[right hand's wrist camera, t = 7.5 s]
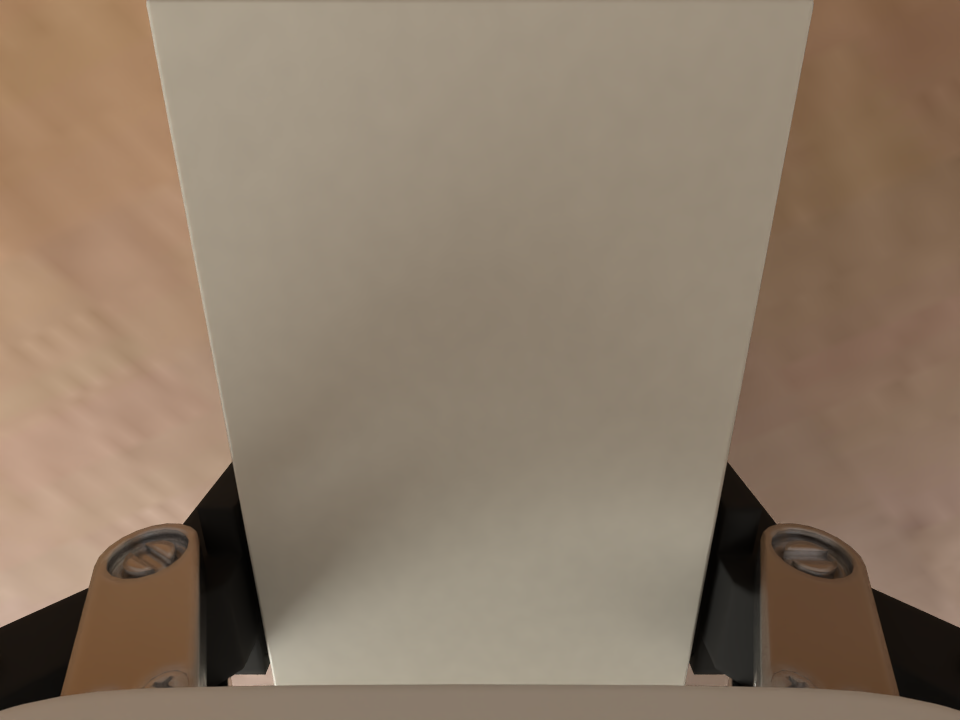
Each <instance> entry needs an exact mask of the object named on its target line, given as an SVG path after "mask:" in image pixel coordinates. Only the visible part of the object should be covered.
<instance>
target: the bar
mask: <svg viewBox="0 0 960 720" xmlns="http://www.w3.org/2000/svg"><path fill="white" fill-rule="evenodd" d="M146 5H147V10H148V15H149V21H150V26H151V31H152V37H153V42H154V47H155V53H156V58H157V63H158V69H159V74H160V79H161V85H162V90H163V95H164V101H165V106H166V111H167V117H168V122H169V127H170V132H171V138H172V143H173V148H174V154H175V159H176V164H177V170H178V175H179V180H180V186H181V191H182V196H183V202H184V207H185V212H186V218H187V223H188V228H189V234H190V239H191V244H192V249H193V255H194V260H195V265H196V271H197V276H198V281H199V287H200V292H201V297H202V303H203V308H204V313H205V319H206V324H207V329H208V335H209V340H210V345H211V351H212V356H213V361H214V366H215V372H216V377H217V382H218V388H219V393H220V398H221V404H222V409H223V414H224V420H225V425H226V430H227V436H228V441H229V446H230V452H231V457H232V462H233V468H234V473H235V478H236V483H237V489H238V494H239V499H240V505H241V510H242V515H243V521H244V526H245V531H246V537H247V542H248V547H249V553H250V558H251V563H252V569H253V574H254V579H255V585H256V590H257V595H258V600H259V606H260V611H261V616H262V622H263V627H264V632H265V638H266V643H267V648H268V654H269V659H270V664H271V670H272V675H273V680H274V686H277V685H417V684H543V685H683V686H685V682H686V676H687V671H688V666H689V661H690V655H691V650H692V645H693V639H694V634H695V629H696V624H697V618H698V613H699V608H700V602H701V597H702V592H703V587H704V581H705V576H706V571H707V566H708V560H709V555H710V550H711V544H712V539H713V534H714V529H715V523H716V518H717V513H718V507H719V502H720V497H721V492H722V486H723V481H724V476H725V470H726V465H727V460H728V455H729V449H730V444H731V439H732V433H733V428H734V423H735V418H736V412H737V407H738V402H739V396H740V391H741V386H742V381H743V375H744V370H745V365H746V359H747V354H748V349H749V344H750V338H751V333H752V328H753V322H754V317H755V312H756V307H757V301H758V296H759V291H760V285H761V280H762V275H763V270H764V264H765V259H766V254H767V248H768V243H769V238H770V233H771V227H772V222H773V217H774V211H775V206H776V201H777V196H778V190H779V185H780V180H781V174H782V169H783V164H784V159H785V153H786V148H787V143H788V137H789V132H790V127H791V122H792V116H793V111H794V106H795V100H796V95H797V90H798V85H799V79H800V74H801V69H802V63H803V58H804V53H805V48H806V42H807V37H808V32H809V26H810V21H811V16H812V11H813V5H814V3H813V0H147V3H146Z"/></svg>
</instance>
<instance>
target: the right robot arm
mask: <svg viewBox="0 0 960 720" xmlns="http://www.w3.org/2000/svg"><path fill="white" fill-rule="evenodd" d="M689 663H690V665H691V668H692V670H693V673H694V674H725V675H727V676H728V677H729V680H728V686H683V685H543V684H417V685H277V686H232V680H231V676H233V675H234V674H266V672H267V669H268V667H269V664H270V659H269V654H268V648H267V643H266V638H265V632H264V627H263V622H262V616H261V611H260V606H259V600H258V595H257V590H256V585H255V579H254V574H253V569H252V563H251V558H250V553H249V547H248V542H247V537H246V531H245V526H244V521H243V515H242V510H241V505H240V499H239V494H238V489H237V483H236V478H235V473H234V468H233V462H232V463H231V464H230V465H229V466H228V468H227V469H226V470H225V472H224V473H223V474H222V475H221V477H220V478H219V479H218V480H217V482H216V483H215V484H214V486H213V487H212V488H211V489H210V491H209V492H208V493H207V494H206V496H205V497H204V498H203V499H202V501H201V502H200V503H199V505H198V506H197V507H196V508H195V510H194V511H193V512H192V513H191V515H190V516H189V517H188V519H187V520H186V521H185V522H184V524H169V523H167V524H161V525H155V526H150V527H147V528H144V529H141V530H138V531H135V532H133V533H131V534H129V535H127V536H125V537H123V538H121V539H120V540H118V541H117V542H115V543H114V544H112V545H111V546H109V547H108V548H107V549H106V550H105V551H104V552H103V553H102V554H101V555H100V557H99V558H98V560H97V562H96V564H95V566H94V570H93V574H92V577H91V581H90V585H89V588H87V589H85V590H83V591H81V592H78V593H76V594H74V595H72V596H70V597H67V598H65V599H63V600H61V601H58V602H56V603H54V604H52V605H50V606H47V607H45V608H43V609H41V610H38V611H36V612H34V613H32V614H30V615H27V616H25V617H23V618H21V619H18V620H16V621H14V622H12V623H10V624H7V625H5V626H3V627H1V628H0V720H960V628H959V627H957V626H955V625H952V624H950V623H948V622H946V621H943V620H941V619H939V618H937V617H935V616H932V615H930V614H928V613H926V612H923V611H921V610H919V609H917V608H915V607H912V606H910V605H908V604H906V603H903V602H901V601H899V600H897V599H895V598H892V597H890V596H888V595H886V594H884V593H881V592H879V591H877V590H875V589H872V588H871V585H870V581H869V577H868V574H867V570H866V566H865V564H864V562H863V560H862V558H861V557H860V556H859V554H858V553H857V552H856V551H855V550H854V549H853V548H852V547H851V546H849V545H848V544H846V543H845V542H843V541H842V540H840V539H839V538H837V537H835V536H833V535H831V534H829V533H827V532H825V531H822V530H819V529H816V528H813V527H810V526H805V525H799V524H793V523H791V524H776V523H775V522H774V520H773V519H772V518H771V517H770V515H769V514H768V513H767V511H766V510H765V509H764V508H763V506H762V505H761V504H760V503H759V501H758V500H757V499H756V498H755V496H754V495H753V494H752V492H751V491H750V490H749V489H748V487H747V486H746V485H745V484H744V482H743V481H742V480H741V479H740V477H739V476H738V475H737V473H736V472H735V471H734V470H733V468H732V467H731V466H730V465H729V463H728V462H727V465H726V470H725V476H724V481H723V486H722V492H721V497H720V502H719V507H718V513H717V518H716V523H715V529H714V534H713V539H712V544H711V550H710V555H709V560H708V566H707V571H706V576H705V581H704V587H703V592H702V597H701V602H700V608H699V613H698V618H697V624H696V629H695V634H694V639H693V645H692V650H691V655H690V661H689Z"/></svg>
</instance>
